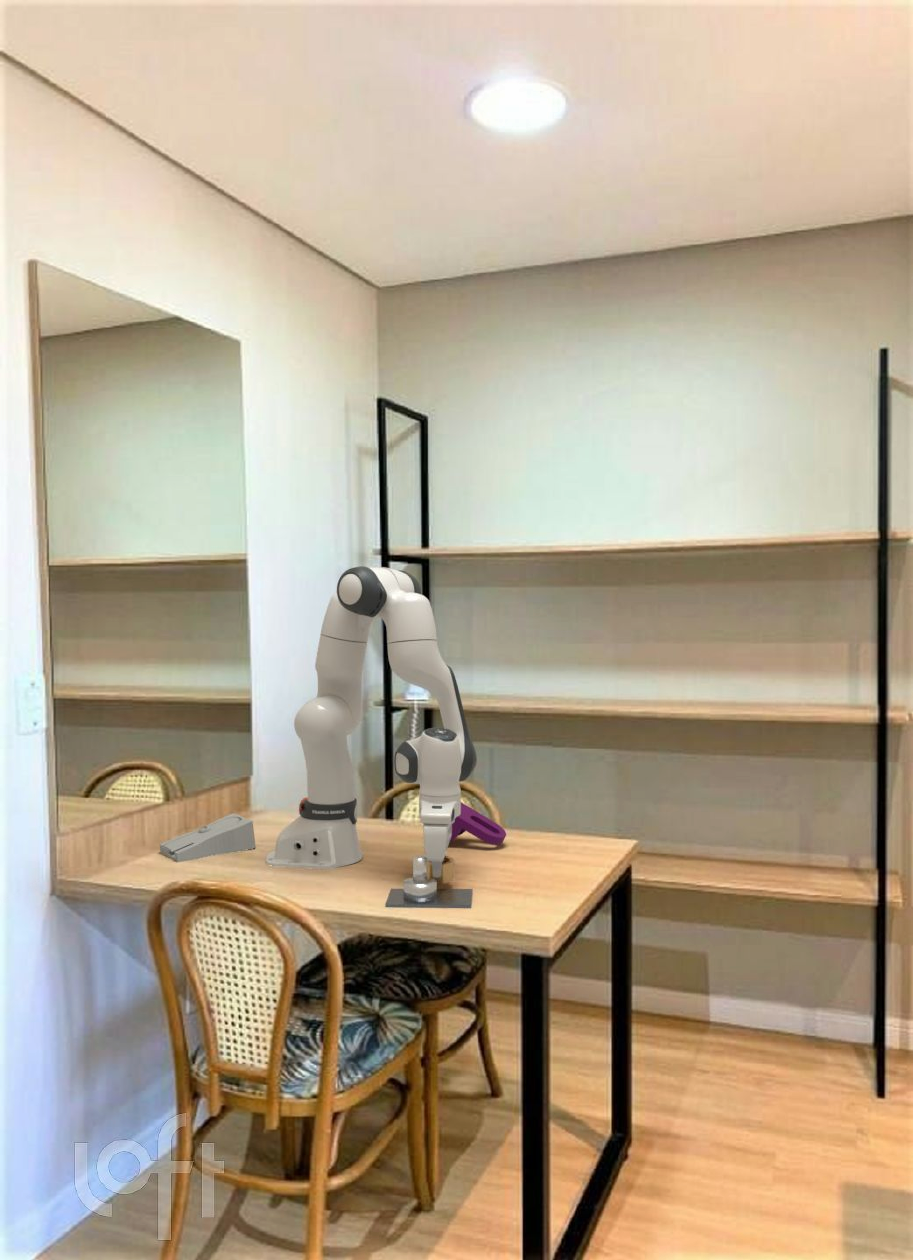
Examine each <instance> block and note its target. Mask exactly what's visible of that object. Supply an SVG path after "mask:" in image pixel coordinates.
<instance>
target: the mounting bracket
mask: <svg viewBox="0 0 913 1260" xmlns="http://www.w3.org/2000/svg"><path fill="white" fill-rule="evenodd" d="M465 832H467V833H469V834H471V835H472V836H474V837H475V838H477V839H478V840H480V841H483V842H484V843H487V844H490V845H494V846H500V845H502V844H503V842H504V840H505V839H506V836H507V832H506V831H505V829H504V828H503V827H502V826H501V825H499V824H498V823H497V822H495V821H493V820H491V819H490V818H488V817H486V816H485V815H484V814H482V813H480V812H478V811H476V809H473V808H471V806H468V805H467V804H465V803H463V802H462V801H461V814H460V815H459V816H457V817H456V818H455V822H454V823H453V824H452V835H451V839H450V842H449V843H451V842H452V841H454V840H455V839H457V838H458V837H459V836H461V835H462V834H464V833H465Z"/></svg>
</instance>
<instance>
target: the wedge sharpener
mask: <svg viewBox="0 0 913 1260" xmlns="http://www.w3.org/2000/svg"><path fill="white" fill-rule="evenodd" d="M253 823H254V822H253V820H251V819H249V818H247V817H244V816H241V815H239V814H237V813H234V812H233V813H230V814H227V815H226V816H224V817H223V816H222V817H221V818H218V819H215V821H212V822H211V823H208V824H207V825H204V826H202V827H201V826H200V828H198V829H195V830H192V831H191V832H187V833H184V834H182V835H178V836H176V837H173V838H171V839H168V840H167V841H163V842H161V843H159V852H160V853H159V854H162V855H164V856H165V857H167V858H169V859H171V860H173V861H175V862H177V863H181V862H187V861H194V860H199V859H202V858H207V857H211V855H212V856H216V855H215V854H218V855H225V854H230V852H233V853H239V852H238V851H241V852H244V851H243V850H246V849H251V850H254V849H253V848H257V847H256V840H255V839H256V838H255V829H254V824H253ZM246 851H247V850H246Z"/></svg>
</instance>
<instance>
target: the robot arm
mask: <svg viewBox="0 0 913 1260" xmlns="http://www.w3.org/2000/svg"><path fill="white" fill-rule="evenodd" d="M418 580H419V579H417V577H415V576H414V575H412V574H411V573H409V572H407V571H404V570H402V569H401V570H400V569H399V570H397V569H393V568H389V567H385V566H380V567H378V566H377V567H376V566H373V567H367V566H363V565H362V566H355V567H351V568H348V569H346V570H345V571H344V572H343V573H342V574H341V575H340V577H339V579H338V582H337V585H336V592H335V593H334V594H333V595H332V596H331V597H330V600H329V602H328V605H327V607H326V611H325V614H324V617H323V622H322V625H321V629H320V630H321V631H320V635H319V642H318V647H317V652H316V658H315V665H314V667H315V671H316V674H317V675H316V676H317V695H316V698H313V699H310V700H308V701H306V702H305V703H304V704H303V706H302V707H300V709H299V710H298V711H297V712H296V715H295V717H294V723H293V726H294V731H295V734H296V736H297V738H298V739H299V740H300V743H301V747H302V751H303V755H304V760H305V765H306V784H307V785H306V786H307V791H306V792H307V797H303V798H302V799H301V800H300V803H299V804H298V805H299V806H298V813H299V814H298V815H299V816H298V817H297V818H295V819H294V821H292V822H290V824H288V825H287V826H286V827H284V829H282V830H281V831H280V832H279V834H278V835H277V839H276V843H275V847H274V848H275V849H274V850H272V851H270V852H269V853H268V854H267V856H266V857H265V864H266V863H267V864H268V865H272V866H271V867H274V866H285V867H284V868H289V867H294V868H293V869H304V868H317V869H316V870H320V869H329V870H332V869H331V868H333V869H336V868H339V867H344V866H349V865H352V864H355V863H358V862H360V861H361V860H362V859H363V857H364V856H363V854H362V850H361V846H360V842H359V837H358V830H357V829H358V828H357V821H358V804H357V803H358V802H357V797H356V796H355V795H356V793H355V791H356V790H355V786H356V785H355V766H354V763H353V761H352V759H351V757H350V755H351V754H350V751H349V746H348V741H347V739H348V738H347V737H348V736H349V735H351V734H352V733H353V732H355V731H356V729H357V728H358V727H359V725H360V723H361V722H362V718H363V713H364V712H363V706H362V695H363V694H362V693H363V692H362V691H363V690H362V685H363V683H362V681H363V668H364V663H365V657H366V652H367V647H368V641H369V639H368V638H369V635H370V634H369V633H370V628H371V624H372V622H373V621H374V620H375V619H376V618H381V620H382V621H383V623H384V625H385V627H386V643H387V645H386V646H387V656H388V662H389V666H390V669H391V670H392V671H393V673H394V674H395V675H396V676H397V677H399V679H401V680H402V681H405V682H406V683H408V684H411V685H413V686H417V687H418V688H422V689H424V690H425V691H428V692H429V693H431V695H432V696H434V698H435V699H436V701H437V704H438V708H439V711H440V712H439V713H440V718H441V722H442V726H443V727H431V728H430V727H429V728H427V729H424V731H423V732H422V733H421V735H420V736H418V737H416V738H412V739H408V740H406V741H403V742H401V743H400V744H399V746H398V747H397V749H396V750H395V753H394V771H395V773H396V775H397V776H398V778H400V779H401V780H402V781H403V782H404V783H407V784H413V785H414V784H416V785H417V784H419V792H418V814H419V819H420V820H419V822H420V823H421V824H422V828H423V829H422V831H423V848H424V856H425V857H426V860H427V861H431V863H432V869H433V877H441V874H442V861H443V860H444V857H445V856H447V851H448V847H449V844H450V843H451V842H450V839H451V835H452V824H453V823H454V822H455V818H456V817H457V816H459V815H460V814H461V802H462V798H461V797H462V790H461V789H462V788H461V786H460V782H464V781H466V780H467V779H468V778H469V777H470V776H471V775H472V774H473V771H474V770H475V769H476V766H477V761H478V758H477V752H476V749H475V746H474V743H473V741H472V738H471V736H470V733H469V728H468V725H467V719H466V716H465V711H464V707H463V702H462V699H461V694H460V690H459V685H458V683H457V682H458V681H457V678H456V676H455V673H454V670H453V668H452V667H451V666H450V665H448V664H446V662H445V661H444V659H443V658H442V654H441V652H440V649H439V647H438V646H439V645H438V635H437V628H436V621H435V617H434V613H433V608H432V606H431V602H430V600H429V599H428V597H426V596H425V595H424V594H422V588H421V585H420V582H419V581H418ZM267 864H266V865H267ZM268 865H267V866H268ZM296 867H297V868H296Z"/></svg>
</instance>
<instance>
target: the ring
mask: <svg viewBox="0 0 913 1260" xmlns="http://www.w3.org/2000/svg"><path fill="white" fill-rule="evenodd" d="M427 877H430V878H433V879H435V880H436V881H437V885H438V884H440V885H441V884H442V885H444V884H448V883H452V882H454V880H455V858H453V857H451V856H448V855H446V856H445V857H444V860H443V861H442V874H441V877H433V869H432V863H431V861H427Z"/></svg>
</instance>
